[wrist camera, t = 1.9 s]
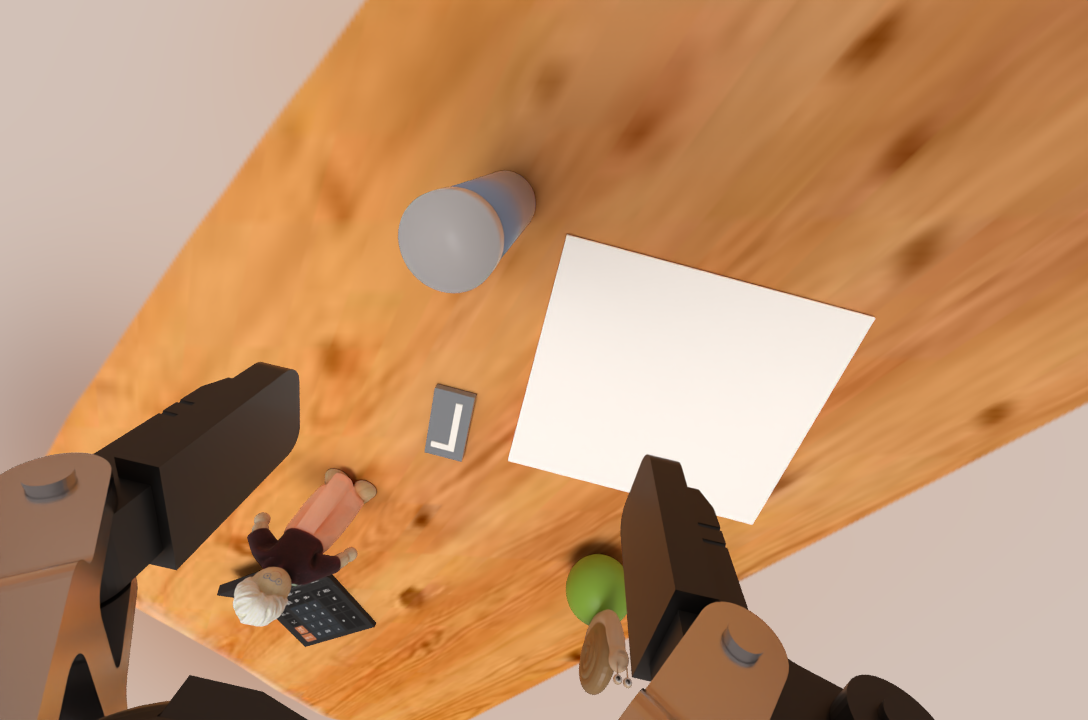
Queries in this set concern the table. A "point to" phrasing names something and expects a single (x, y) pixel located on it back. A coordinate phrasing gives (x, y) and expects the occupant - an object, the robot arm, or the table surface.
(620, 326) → the paper
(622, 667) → the snail figurine
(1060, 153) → the table surface
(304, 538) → the grandmother figurine
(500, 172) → the grey-blue cylinder
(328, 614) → the calculator
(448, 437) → the letter card
